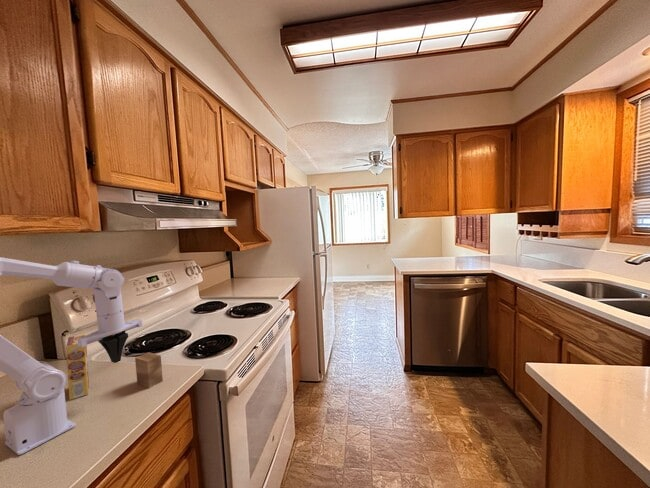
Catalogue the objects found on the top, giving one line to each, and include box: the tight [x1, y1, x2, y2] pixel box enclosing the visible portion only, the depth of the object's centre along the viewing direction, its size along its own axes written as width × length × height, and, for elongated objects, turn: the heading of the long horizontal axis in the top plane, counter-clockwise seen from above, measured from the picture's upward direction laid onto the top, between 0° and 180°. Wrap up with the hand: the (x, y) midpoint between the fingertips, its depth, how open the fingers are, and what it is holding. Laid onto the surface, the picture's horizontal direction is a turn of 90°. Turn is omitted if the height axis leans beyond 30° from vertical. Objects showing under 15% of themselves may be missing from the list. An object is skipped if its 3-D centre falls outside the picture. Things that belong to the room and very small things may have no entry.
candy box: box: [65, 333, 90, 400], centre depth 80 cm, size 9×4×15 cm, turn 39°
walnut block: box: [134, 352, 164, 389], centre depth 84 cm, size 4×6×8 cm, turn 63°
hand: (116, 361), depth 76 cm, fingers closed
